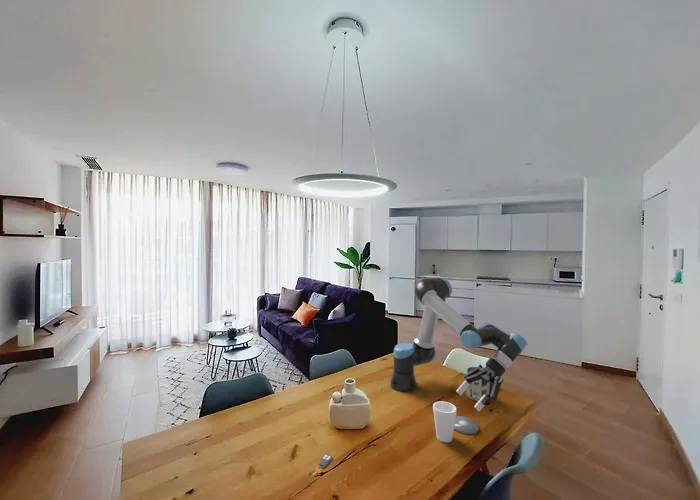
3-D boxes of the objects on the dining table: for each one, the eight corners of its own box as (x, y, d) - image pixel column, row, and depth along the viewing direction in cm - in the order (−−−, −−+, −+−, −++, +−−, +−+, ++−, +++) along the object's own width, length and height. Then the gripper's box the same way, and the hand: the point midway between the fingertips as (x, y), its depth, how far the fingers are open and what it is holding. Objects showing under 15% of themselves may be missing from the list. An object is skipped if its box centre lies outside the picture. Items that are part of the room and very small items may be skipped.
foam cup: (456, 433, 131) (456, 403, 131) (456, 446, 123) (456, 414, 123) (433, 429, 135) (433, 399, 134) (431, 441, 126) (432, 410, 126)
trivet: (452, 432, 132) (452, 429, 132) (447, 417, 144) (447, 414, 144) (481, 435, 130) (481, 432, 130) (474, 420, 142) (474, 417, 142)
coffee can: (482, 392, 170) (483, 366, 170) (490, 401, 159) (491, 374, 159) (464, 391, 170) (464, 366, 170) (471, 401, 160) (471, 374, 159)
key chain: (324, 456, 117) (324, 452, 117) (333, 459, 116) (333, 455, 116) (306, 480, 105) (306, 475, 105) (316, 483, 104) (316, 479, 104)
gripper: (525, 381, 121) (491, 422, 119) (485, 358, 146) (456, 392, 143) (513, 369, 120) (479, 410, 118) (475, 348, 145) (446, 382, 142)
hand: (466, 401), depth 130 cm, fingers open, 13 cm apart
